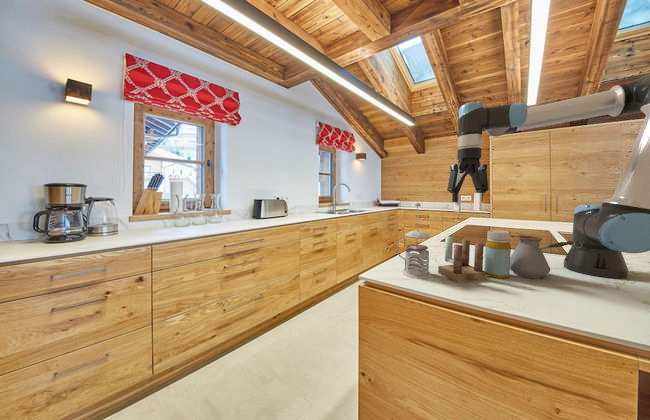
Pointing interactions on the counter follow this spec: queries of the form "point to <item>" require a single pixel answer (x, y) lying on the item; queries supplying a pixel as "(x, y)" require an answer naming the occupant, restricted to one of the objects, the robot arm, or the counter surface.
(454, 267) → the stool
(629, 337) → the counter surface
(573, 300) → the counter surface
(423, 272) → the french press
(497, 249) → the bottle
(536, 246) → the coffee pot
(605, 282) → the counter surface
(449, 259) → the swing leg
